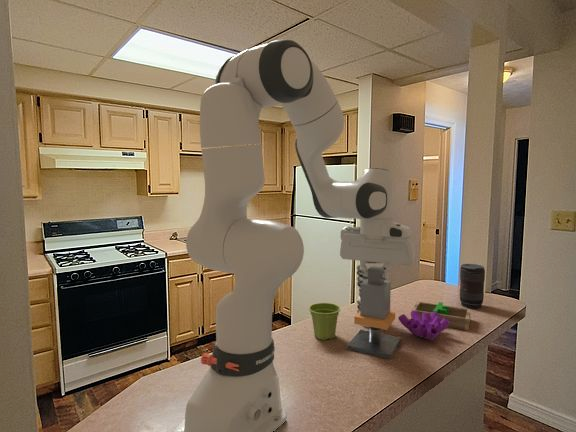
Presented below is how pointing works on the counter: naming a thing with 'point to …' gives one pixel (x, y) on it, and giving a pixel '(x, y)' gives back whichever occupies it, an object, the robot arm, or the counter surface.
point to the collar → (375, 321)
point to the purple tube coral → (424, 324)
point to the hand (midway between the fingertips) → (375, 277)
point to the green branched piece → (441, 309)
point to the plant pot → (324, 319)
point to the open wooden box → (455, 315)
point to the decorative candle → (364, 278)
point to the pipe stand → (374, 343)
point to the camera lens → (472, 285)
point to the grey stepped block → (375, 295)
